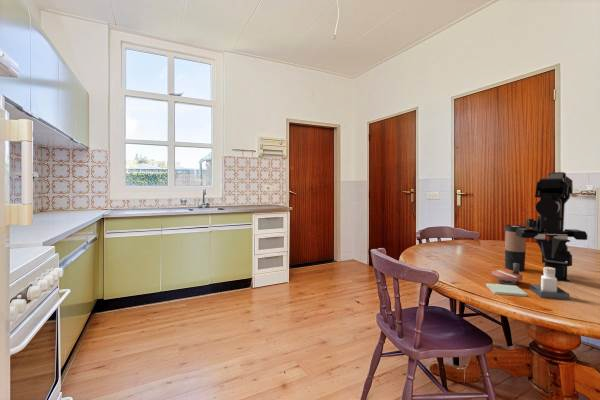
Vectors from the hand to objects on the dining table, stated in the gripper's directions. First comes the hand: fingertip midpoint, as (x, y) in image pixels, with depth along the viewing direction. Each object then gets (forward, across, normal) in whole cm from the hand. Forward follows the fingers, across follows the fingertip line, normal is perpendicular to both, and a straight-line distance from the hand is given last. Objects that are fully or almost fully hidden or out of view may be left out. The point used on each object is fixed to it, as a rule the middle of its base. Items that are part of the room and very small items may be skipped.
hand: (549, 257), depth 102 cm
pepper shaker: (+13, 0, 0) cm, 13 cm away
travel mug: (+13, -2, -33) cm, 36 cm away
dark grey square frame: (+13, 0, 0) cm, 13 cm away
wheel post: (+13, +9, -11) cm, 19 cm away
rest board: (+13, +13, 0) cm, 18 cm away
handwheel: (+11, +9, -11) cm, 18 cm away
